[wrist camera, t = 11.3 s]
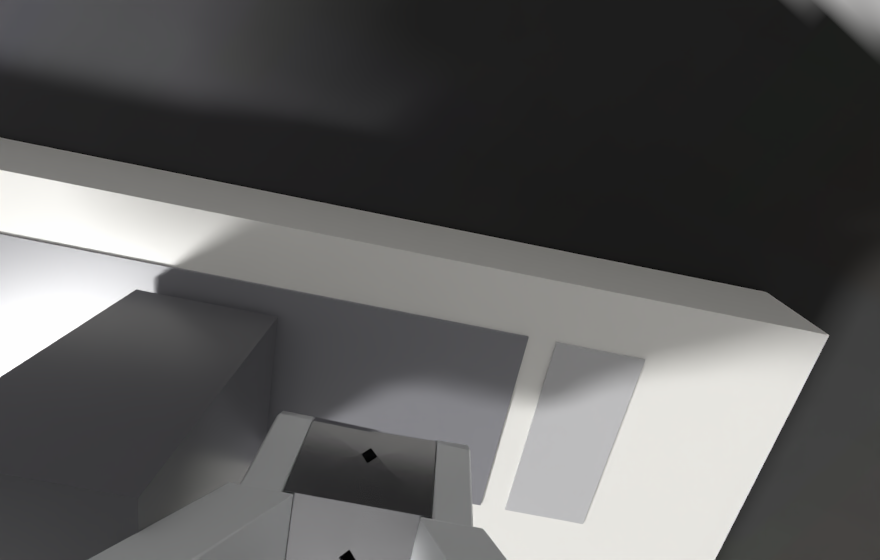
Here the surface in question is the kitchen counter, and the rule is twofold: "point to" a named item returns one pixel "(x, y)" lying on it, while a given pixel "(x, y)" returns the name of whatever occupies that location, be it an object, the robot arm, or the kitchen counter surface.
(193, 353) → the block
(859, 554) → the kitchen counter surface
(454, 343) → the breaker panel
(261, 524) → the robot arm
